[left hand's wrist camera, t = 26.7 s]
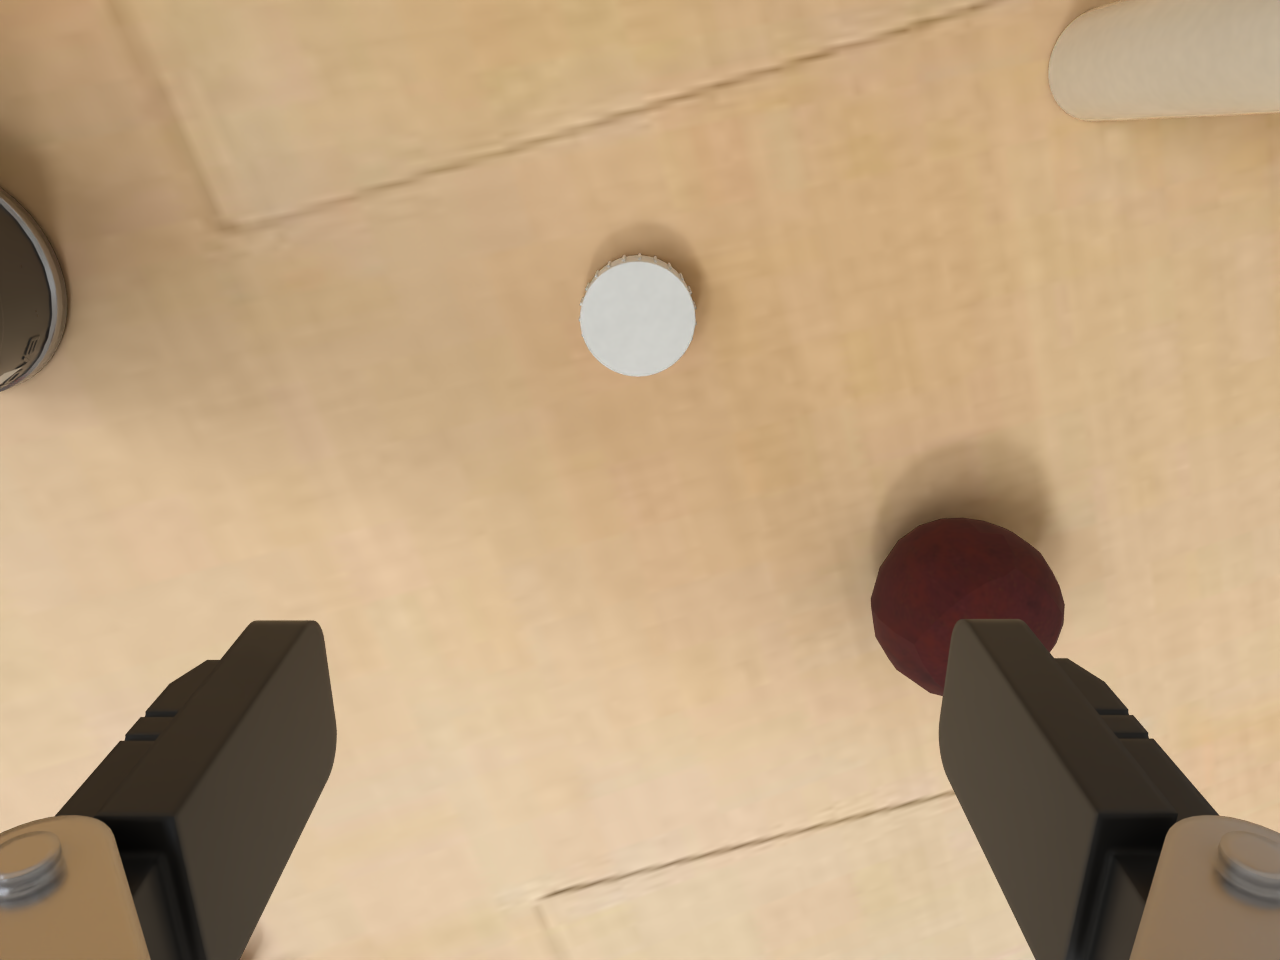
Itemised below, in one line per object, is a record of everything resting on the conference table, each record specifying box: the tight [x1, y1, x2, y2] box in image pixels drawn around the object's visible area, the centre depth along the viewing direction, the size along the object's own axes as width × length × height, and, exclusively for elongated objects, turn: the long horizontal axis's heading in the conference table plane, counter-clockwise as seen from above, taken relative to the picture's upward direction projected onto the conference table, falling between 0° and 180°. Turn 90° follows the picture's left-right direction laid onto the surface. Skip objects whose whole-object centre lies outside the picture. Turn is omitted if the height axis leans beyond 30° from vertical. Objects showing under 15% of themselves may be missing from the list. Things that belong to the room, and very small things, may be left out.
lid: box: [579, 253, 697, 376], centre depth 37 cm, size 5×5×2 cm
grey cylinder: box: [1048, 0, 1280, 121], centre depth 26 cm, size 4×4×17 cm
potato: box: [871, 518, 1065, 696], centre depth 38 cm, size 7×8×7 cm
